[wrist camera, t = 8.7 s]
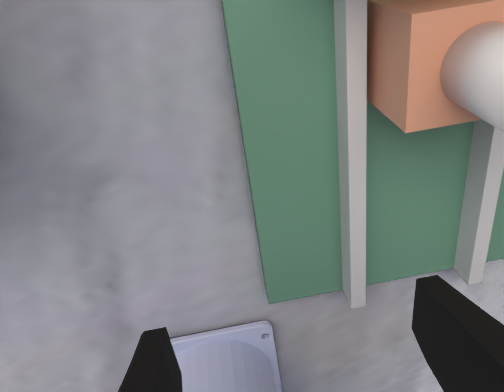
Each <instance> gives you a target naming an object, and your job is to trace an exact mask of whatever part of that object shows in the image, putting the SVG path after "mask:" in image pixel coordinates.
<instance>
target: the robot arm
mask: <svg viewBox="0 0 504 392" xmlns="http://www.w3.org/2000/svg"><path fill="white" fill-rule="evenodd" d="M412 330H413V332H414V335H415V337H416V339H417V342H418V344H419V346H420V348H421V351H422V353H423V355H424V357H425V359H426V362H427V363H428V365H429V367H430V369H431V370H432V372H433V374H434V375H435V377H436V379H437V380H438V382H439V384H440V386H441V387H442V389H443V391H444V392H504V325H503V324H502V323H500V322H499V321H497V320H496V319H495V318H493V317H492V316H490V315H489V314H488V313H486V312H485V311H484V310H482V309H481V308H480V307H478V306H477V305H476V304H474V303H473V302H472V301H470V300H469V299H468V298H467V297H465V296H464V295H463V294H461V293H460V292H459V291H457V290H456V289H455V288H453V287H452V286H451V285H450V284H448V283H447V282H446V281H444V280H443V279H442V278H440V277H439V276H438V275H435V276H430V277H424V278H419V279H416V288H415V299H414V309H413V320H412ZM265 333H267V334H265ZM118 392H282V388H281V381H280V375H279V368H278V362H277V355H276V349H275V342H274V336H273V329H272V325H271V323H270V322H269V321H258V322H253V323H248V324H243V325H238V326H233V327H228V328H223V329H218V330H213V331H208V332H202V333H197V334H192V335H187V336H182V337H177V338H172V339H170V338H169V335H168V332H167V329H166V327H164V328H159V329H154V330H149V331H144V332H143V333H142V335H141V337H140V340H139V343H138V345H137V348H136V350H135V353H134V356H133V358H132V361H131V363H130V366H129V368H128V370H127V373H126V375H125V377H124V380H123V382H122V384H121V386H120V388H119V391H118Z"/></svg>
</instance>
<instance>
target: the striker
mask: <svg viewBox="0 0 504 392" xmlns="http://www.w3.org/2000/svg"><path fill="white" fill-rule="evenodd" d="M367 100H368V101H369V102H370V103H371V104H373V105H374V106H375V107H376V108H377V109H378V110H379V111H381V112H382V113H383V114H384V115H385V116H386V117H387V118H389V119H390V120H391V121H392V122H393V123H394V124H395V125H397V126H398V127H399V128H400V129H401V130H402V131H403V132H405V133H410V132H415V131H421V130H426V129H432V128H438V127H443V126H449V125H454V124H460V123H465V122H471V121H477V120H484V121H485V122H487V123H489V124H490V125H492V126H494V127H495V128H497V129H499V130H500V131H502V132H503V133H504V0H367Z"/></svg>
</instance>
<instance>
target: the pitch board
mask: <svg viewBox="0 0 504 392" xmlns="http://www.w3.org/2000/svg"><path fill="white" fill-rule="evenodd" d="M221 2H222V9H223V15H224V22H225V28H226V35H227V41H228V48H229V54H230V61H231V67H232V74H233V80H234V87H235V93H236V100H237V106H238V113H239V119H240V125H241V132H242V138H243V145H244V151H245V158H246V164H247V171H248V177H249V184H250V190H251V197H252V203H253V210H254V216H255V223H256V229H257V235H258V242H259V248H260V255H261V261H262V268H263V274H264V281H265V287H266V293H267V297H268V302H269V304H272V303H278V302H283V301H288V300H293V299H298V298H303V297H308V296H313V295H319V294H324V293H329V292H334V291H339V290H343V291H344V294H345V296H346V298H347V300H348V302H349V305H350V307H351V309H352V308H357V307H362V306H366V285H370V284H375V283H380V282H385V281H390V280H395V279H400V278H406V277H411V276H416V275H421V274H426V273H431V272H436V271H441V270H446V269H452V268H454V269H455V270H456V272H457V273H458V274H459V275H460V277H461V278H462V279H463V280H464V281H465V283H466V284H467V285H474V284H479V283H482V279H483V274H484V269H485V264H486V262H487V261H493V260H498V259H503V258H504V133H503V132H502V131H500V130H499V129H497V128H495V127H494V126H492V125H490V124H489V123H487V122H485V121H484V120H477V121H471V122H465V123H460V124H454V125H449V126H443V127H438V128H432V129H426V130H421V131H415V132H410V133H405V132H403V131H402V130H401V129H400V128H399V127H398V126H397V125H395V124H394V123H393V122H392V121H391V120H390V119H389V118H387V117H386V116H385V115H384V114H383V113H382V112H381V111H379V110H378V109H377V108H376V107H375V106H374V105H373V104H371V103H370V102H369V101H368V100H367V0H221Z"/></svg>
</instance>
